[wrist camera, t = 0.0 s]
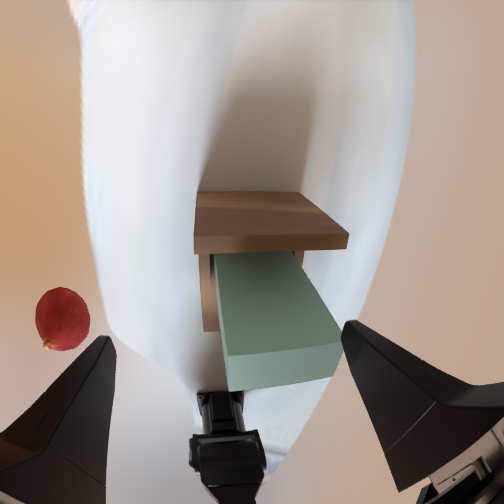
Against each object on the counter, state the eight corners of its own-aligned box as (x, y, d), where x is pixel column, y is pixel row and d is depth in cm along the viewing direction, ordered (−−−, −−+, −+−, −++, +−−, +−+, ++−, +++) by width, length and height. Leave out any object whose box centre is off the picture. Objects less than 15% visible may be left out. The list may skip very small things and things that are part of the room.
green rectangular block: (281, 273, 25) (332, 377, 14) (214, 276, 24) (228, 393, 13) (284, 241, 23) (347, 340, 13) (213, 243, 22) (228, 356, 12)
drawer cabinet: (282, 319, 29) (308, 384, 21) (203, 325, 28) (208, 396, 20) (299, 192, 23) (349, 233, 15) (197, 192, 21) (193, 236, 13)
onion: (108, 311, 25) (88, 369, 18) (70, 321, 25) (47, 374, 18) (81, 265, 22) (48, 318, 15) (43, 279, 22) (10, 328, 15)
